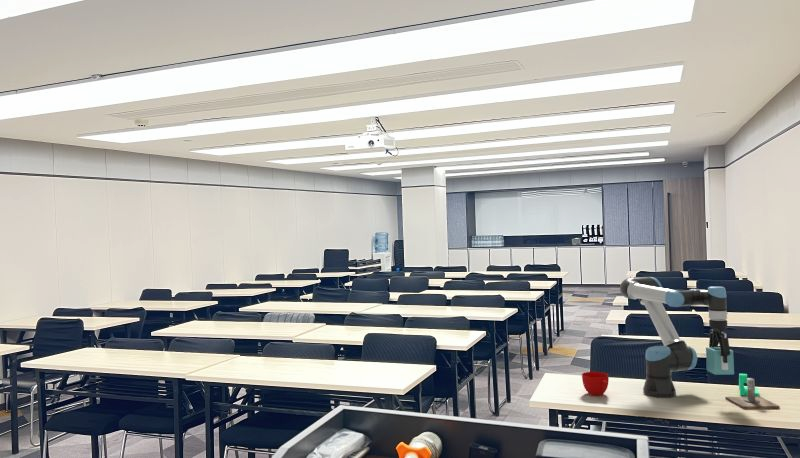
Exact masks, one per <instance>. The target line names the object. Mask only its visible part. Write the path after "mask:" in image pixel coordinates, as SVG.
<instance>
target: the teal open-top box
mask: <svg viewBox="0 0 800 458" xmlns="http://www.w3.org/2000/svg"><path fill="white" fill-rule="evenodd" d="M705 355H706V356H705V358H706V361H705V363H706V371H707V372H709V373H711V374H713V375H724V376H725V375H727V376H728V375H735V363H734V362H735V360H734V350H733V349H730V355H728V370H721V356H720V355H721V349H720V346H718V347H709V346H708V347H705Z"/></svg>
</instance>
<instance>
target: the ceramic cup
mask: <svg viewBox="0 0 800 458" xmlns="http://www.w3.org/2000/svg"><path fill="white" fill-rule="evenodd" d="M581 379H582V385H583V388H584V389H585V391H586V392H587V393H588V395H590V396H593V397H600V396H603V394H605V393H606V391H607V389H608V387H609V386H608V385H609V374H608V373H606V372H599V371H586V372H583V373H581Z"/></svg>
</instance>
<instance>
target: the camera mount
mask: <svg viewBox="0 0 800 458" xmlns="http://www.w3.org/2000/svg"><path fill="white" fill-rule="evenodd" d="M747 378H748V374H747V373H738V391H739V395H740V396H748V391H747V386H745V385H744V384H747ZM755 396H760V392H759V390H758V388H757V387H755Z"/></svg>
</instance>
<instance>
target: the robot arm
mask: <svg viewBox="0 0 800 458" xmlns="http://www.w3.org/2000/svg"><path fill="white" fill-rule="evenodd" d="M619 290H620V293H621V295H622V296H623V297H624V298H626V299H630V300H637V299H638V301H639V303H640V305H642V306H644V307H645V309H646V311H647V313H648V315H649V317H650V319H651V321H652V324H653V325H654V327H655V330H656V331H657V334H658V336H659V338H660V340H661V342H662V344H663V345H654V346H649V347H647V349H645V356H644V357H645V358H644V359H645V372H646V373H645V375H646V378H645V382H644V385H643V389H642V390H643V391H642V392H643V394H644V395H646V396H648V397H649V396H650V397H653V398H667V399H668V398H672V397H676V396H677V390H676V388H675V384H674V382H673V380H672V373H673V372H680V371H684V372H685V371H690V370H693V369H694V368H695V367H696V365H697V364H698V363H697V362H698V353H697V351H696V350H695V348H693V347H691V346H688V345H687V342H686V341H685V340H684V339H681V338H680V336H679V334H678V332H677V330H676V328H675V326H674V325H673V322H672V320H671V319H670V316H669V315H668V312H667V310H666V309H665V306H664V304H666V305H668V306H669V307H672V308H679V307H680V308H681V307H690V306H692V307H693V306H707V307H708V319H709V320H708V323H709V325H708V326H709V327H710V328H711V329H709V330H708V331H709V343H708V347H720V349H721V355H720V356H721V370H728V355H730V350H731V348H730V343H729V341H730V340H729V333H725V329H728V320H727V319H728V312H727V311H728V310H727V297H728V296H727V295H728V294H727V291H726V288H725V287H724V286H708V287H707V289H699V288H691V289H686V290H678V289H670V288H666V287H665V288H664V287H663V286H662V284H661V282H660V280H658V279H657V277H653V276H642V277H640V276H639V277H629V278H625V279H623V280H622V282H621V283H620V285H619Z"/></svg>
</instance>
